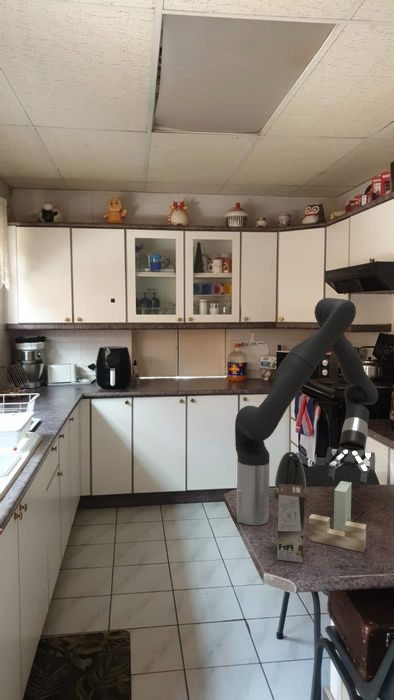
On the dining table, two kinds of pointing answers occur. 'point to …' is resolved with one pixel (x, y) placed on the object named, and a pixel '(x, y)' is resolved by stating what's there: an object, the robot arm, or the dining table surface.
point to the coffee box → (290, 522)
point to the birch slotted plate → (337, 533)
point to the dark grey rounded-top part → (290, 471)
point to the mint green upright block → (342, 505)
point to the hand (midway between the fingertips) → (346, 482)
